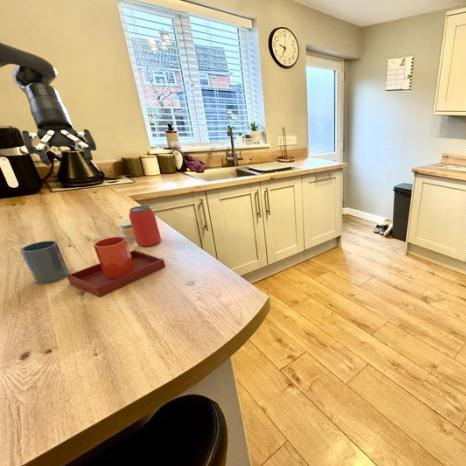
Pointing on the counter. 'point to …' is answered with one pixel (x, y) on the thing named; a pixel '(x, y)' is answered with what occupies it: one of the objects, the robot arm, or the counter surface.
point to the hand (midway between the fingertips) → (68, 162)
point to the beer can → (144, 225)
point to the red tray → (100, 285)
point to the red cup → (114, 257)
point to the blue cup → (45, 261)
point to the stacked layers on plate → (127, 231)
